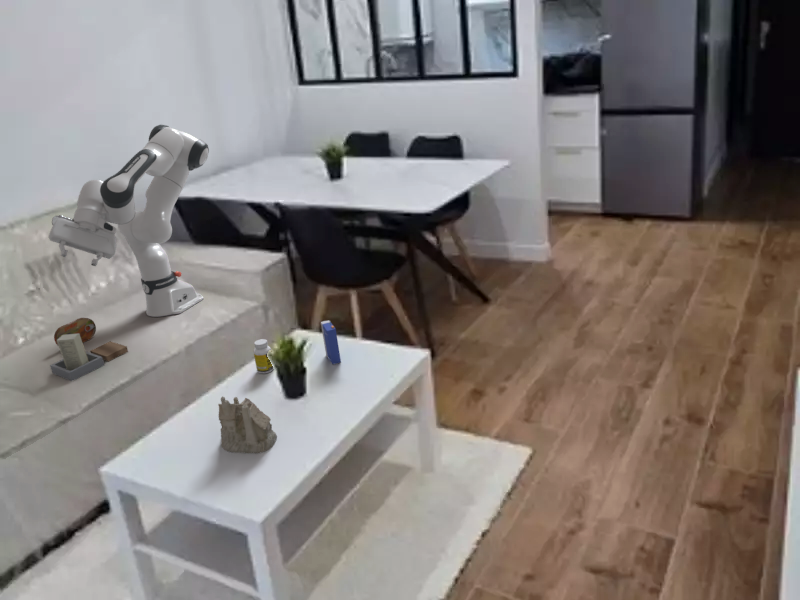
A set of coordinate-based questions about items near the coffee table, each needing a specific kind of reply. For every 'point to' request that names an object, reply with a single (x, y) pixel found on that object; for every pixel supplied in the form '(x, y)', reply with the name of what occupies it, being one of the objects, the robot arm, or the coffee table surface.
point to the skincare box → (72, 351)
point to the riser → (110, 350)
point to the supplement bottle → (262, 356)
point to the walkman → (330, 342)
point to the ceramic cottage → (245, 427)
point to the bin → (71, 375)
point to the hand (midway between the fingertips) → (78, 260)
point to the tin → (77, 329)
